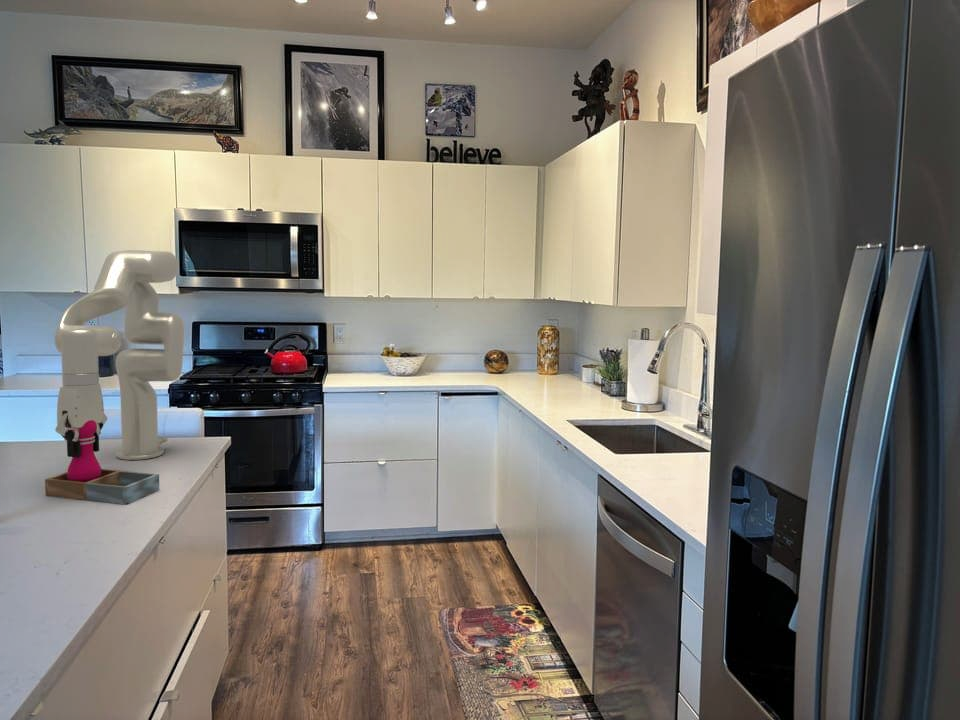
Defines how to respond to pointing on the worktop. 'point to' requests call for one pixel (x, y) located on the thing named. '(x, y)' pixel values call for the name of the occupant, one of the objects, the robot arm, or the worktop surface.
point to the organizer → (105, 486)
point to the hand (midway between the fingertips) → (83, 453)
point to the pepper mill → (85, 456)
